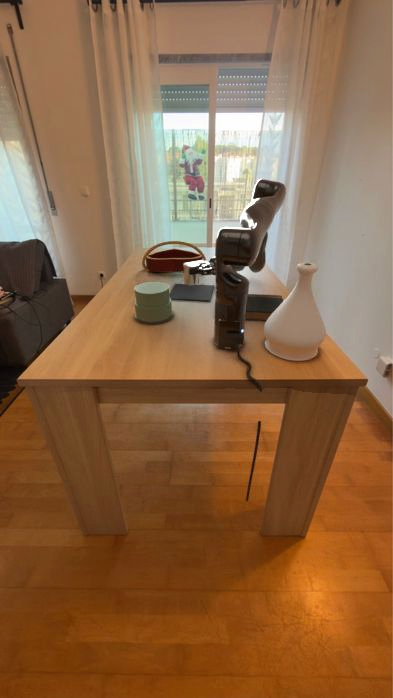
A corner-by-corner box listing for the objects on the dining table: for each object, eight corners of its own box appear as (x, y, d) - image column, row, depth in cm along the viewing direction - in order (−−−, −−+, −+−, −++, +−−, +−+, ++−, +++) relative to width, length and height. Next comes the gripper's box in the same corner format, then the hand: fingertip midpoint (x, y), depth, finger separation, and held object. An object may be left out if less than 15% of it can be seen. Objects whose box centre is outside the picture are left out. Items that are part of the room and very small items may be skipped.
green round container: (168, 325, 98) (166, 295, 92) (129, 323, 99) (125, 293, 93) (176, 309, 109) (175, 281, 103) (141, 307, 111) (138, 279, 105)
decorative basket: (206, 266, 165) (206, 239, 159) (206, 274, 138) (206, 242, 132) (148, 267, 166) (146, 240, 159) (138, 275, 139) (134, 243, 133)
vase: (255, 333, 93) (265, 256, 80) (307, 331, 94) (325, 254, 81) (271, 364, 78) (286, 275, 65) (331, 361, 79) (359, 273, 66)
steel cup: (192, 286, 118) (192, 267, 114) (180, 283, 121) (179, 264, 117) (202, 282, 122) (202, 263, 118) (190, 279, 126) (190, 261, 121)
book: (215, 318, 103) (285, 322, 100) (215, 309, 101) (287, 313, 98) (218, 299, 117) (280, 302, 114) (219, 291, 115) (281, 294, 112)
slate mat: (209, 301, 115) (209, 300, 115) (166, 299, 118) (166, 298, 117) (213, 286, 131) (213, 285, 130) (175, 284, 133) (175, 283, 132)
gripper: (215, 252, 127) (180, 256, 121) (230, 260, 115) (192, 265, 110) (214, 269, 131) (180, 273, 125) (229, 278, 119) (192, 283, 114)
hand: (186, 269), depth 118 cm, fingers closed on steel cup, 6 cm apart
